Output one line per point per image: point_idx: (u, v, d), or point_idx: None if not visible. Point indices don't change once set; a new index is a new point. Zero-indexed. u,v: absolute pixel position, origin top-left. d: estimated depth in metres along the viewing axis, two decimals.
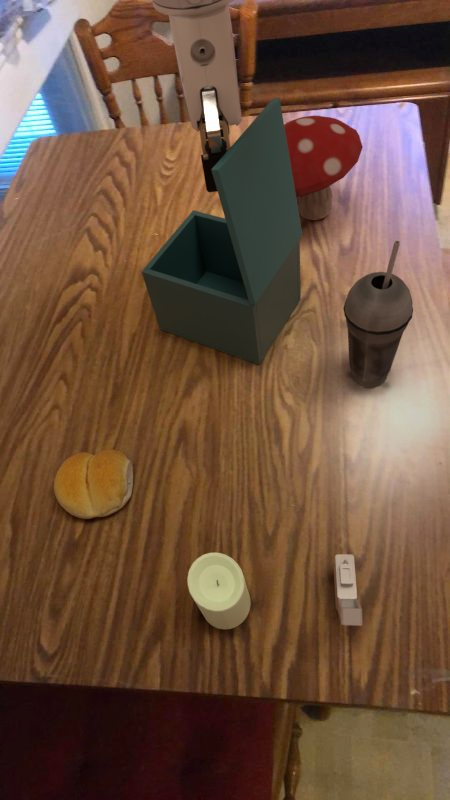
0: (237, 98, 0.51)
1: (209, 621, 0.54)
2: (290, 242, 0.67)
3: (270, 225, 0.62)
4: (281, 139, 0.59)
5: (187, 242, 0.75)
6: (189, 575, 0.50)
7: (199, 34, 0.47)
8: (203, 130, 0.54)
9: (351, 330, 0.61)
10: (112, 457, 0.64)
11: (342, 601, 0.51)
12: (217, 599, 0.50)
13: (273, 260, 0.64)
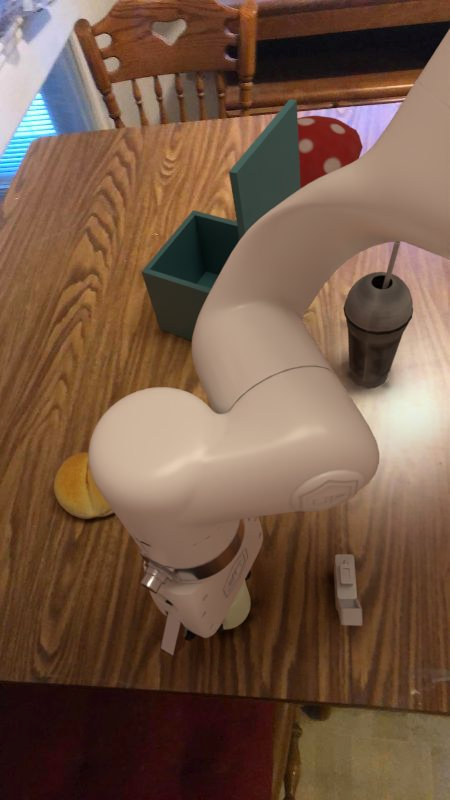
0: (205, 630, 0.43)
1: None
2: None
3: None
4: (294, 141, 0.58)
5: (187, 242, 0.75)
6: None
7: (161, 593, 0.40)
8: None
9: (351, 330, 0.61)
10: None
11: (342, 601, 0.51)
12: None
13: None
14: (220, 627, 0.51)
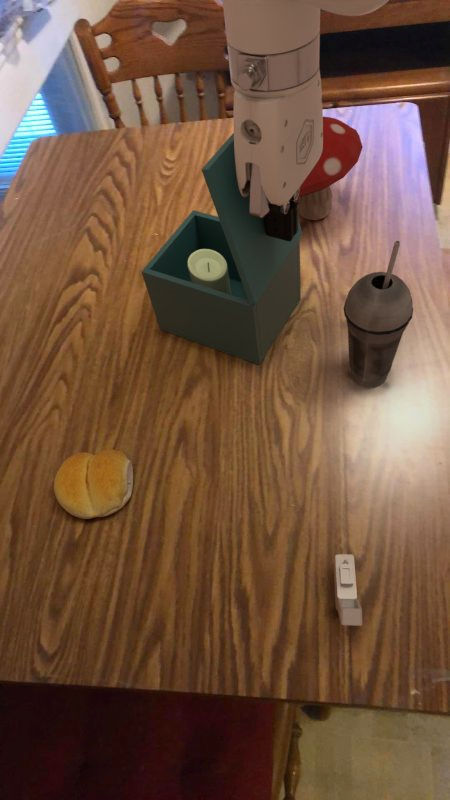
0: (280, 182, 0.51)
1: None
2: (290, 242, 0.67)
3: None
4: None
5: (187, 242, 0.75)
6: (189, 259, 0.73)
7: (250, 116, 0.47)
8: None
9: (351, 330, 0.61)
10: (112, 457, 0.64)
11: (342, 601, 0.51)
12: (208, 277, 0.73)
13: (272, 260, 0.64)
14: (292, 227, 0.60)
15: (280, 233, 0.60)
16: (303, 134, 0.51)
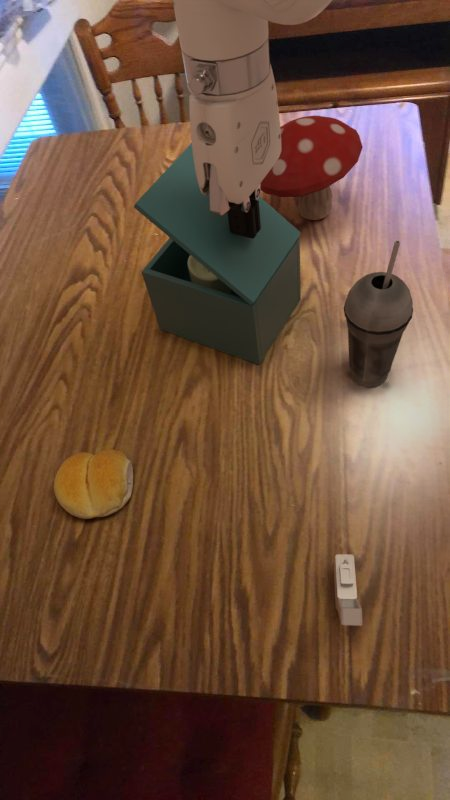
0: (236, 181, 0.53)
1: None
2: (283, 242, 0.67)
3: None
4: None
5: None
6: (189, 259, 0.73)
7: (204, 118, 0.49)
8: None
9: (351, 330, 0.61)
10: (112, 457, 0.64)
11: (342, 601, 0.51)
12: (208, 276, 0.73)
13: (262, 260, 0.65)
14: (254, 225, 0.62)
15: (243, 230, 0.62)
16: (258, 135, 0.53)
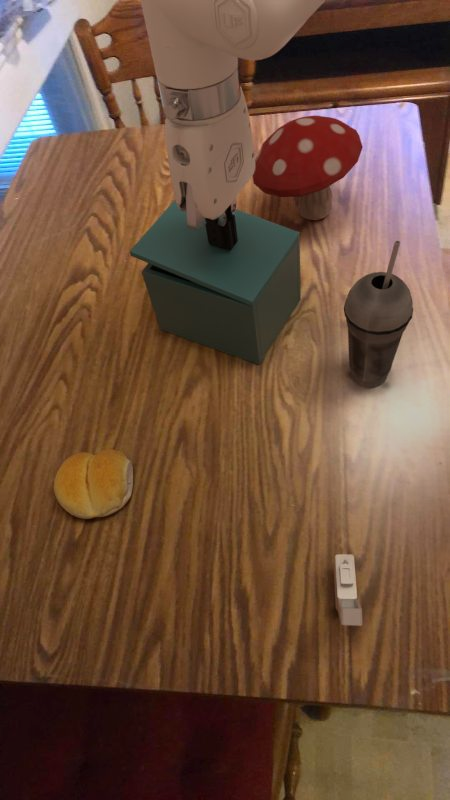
0: (210, 199, 0.57)
1: None
2: (281, 244, 0.68)
3: None
4: None
5: None
6: None
7: (178, 141, 0.53)
8: None
9: (351, 330, 0.61)
10: (112, 457, 0.64)
11: (342, 601, 0.51)
12: None
13: (258, 265, 0.66)
14: (231, 238, 0.66)
15: (220, 243, 0.66)
16: (231, 156, 0.57)
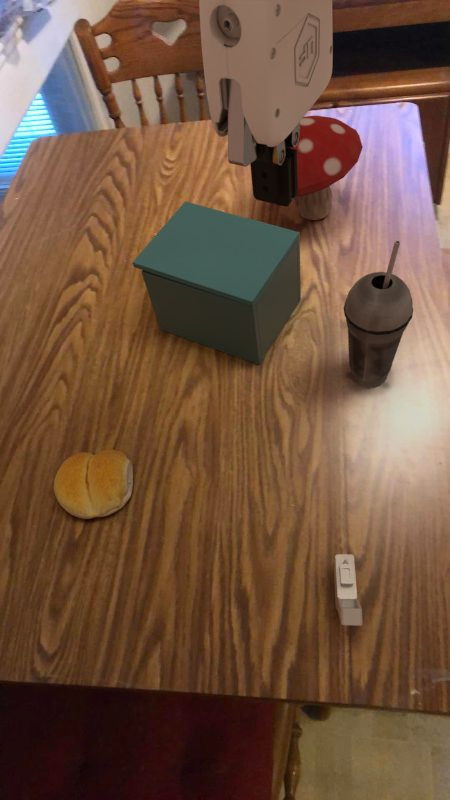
0: (271, 109, 0.34)
1: None
2: (280, 245, 0.68)
3: (230, 252, 0.68)
4: (205, 212, 0.73)
5: None
6: None
7: None
8: None
9: (351, 330, 0.61)
10: (112, 457, 0.64)
11: (342, 601, 0.51)
12: None
13: (258, 266, 0.66)
14: (290, 186, 0.43)
15: (273, 194, 0.44)
16: (305, 38, 0.35)
